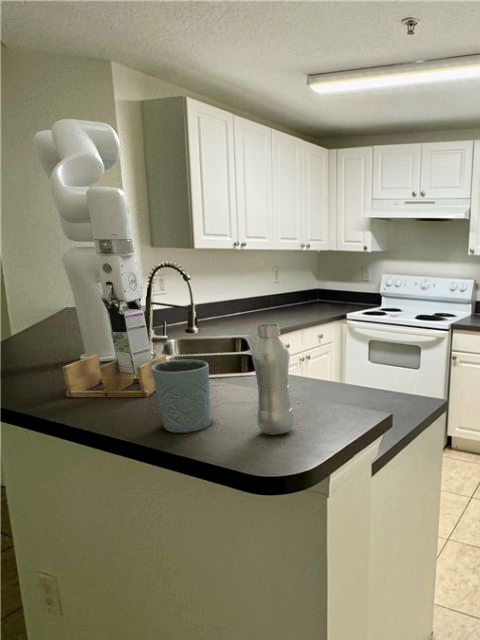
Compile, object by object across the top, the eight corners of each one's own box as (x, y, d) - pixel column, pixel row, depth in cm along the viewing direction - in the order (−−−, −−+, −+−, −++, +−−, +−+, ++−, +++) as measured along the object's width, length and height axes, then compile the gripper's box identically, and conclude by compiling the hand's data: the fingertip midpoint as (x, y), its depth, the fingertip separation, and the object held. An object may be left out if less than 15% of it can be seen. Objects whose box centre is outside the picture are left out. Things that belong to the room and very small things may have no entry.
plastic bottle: (261, 427, 105) (251, 322, 98) (296, 426, 105) (289, 322, 98) (255, 439, 99) (244, 328, 92) (293, 438, 99) (285, 327, 92)
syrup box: (155, 370, 132) (144, 309, 126) (135, 375, 127) (123, 312, 121) (138, 368, 134) (127, 307, 129) (117, 373, 129) (105, 311, 124)
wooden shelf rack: (98, 381, 138) (93, 354, 135) (171, 381, 138) (167, 354, 135) (66, 397, 125) (60, 367, 122) (147, 397, 125) (142, 367, 122)
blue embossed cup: (185, 415, 112) (177, 357, 108) (226, 420, 109) (219, 361, 105) (148, 430, 103) (138, 368, 99) (192, 437, 100) (183, 373, 96)
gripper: (112, 250, 112) (127, 336, 118) (148, 247, 128) (159, 323, 135) (75, 249, 112) (92, 335, 118) (116, 247, 128) (129, 322, 135)
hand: (128, 328), depth 126 cm, fingers closed on syrup box, 7 cm apart
